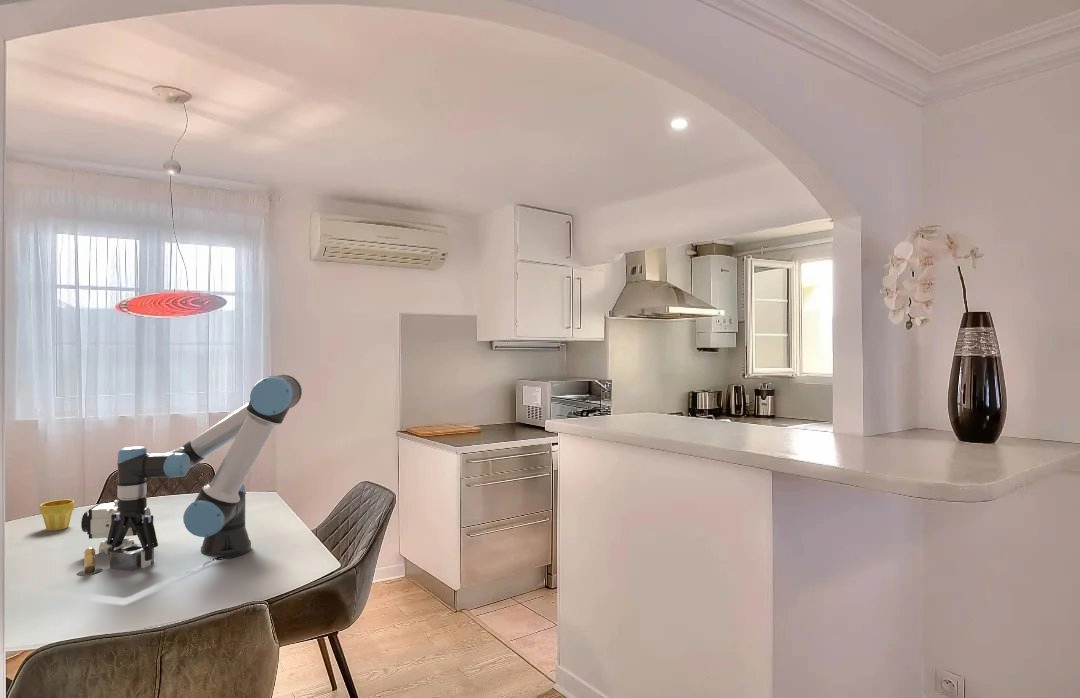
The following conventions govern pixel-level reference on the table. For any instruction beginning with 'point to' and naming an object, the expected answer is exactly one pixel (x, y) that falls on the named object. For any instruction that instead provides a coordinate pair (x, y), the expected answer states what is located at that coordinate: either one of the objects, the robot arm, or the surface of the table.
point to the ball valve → (104, 524)
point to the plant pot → (57, 514)
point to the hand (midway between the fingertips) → (132, 569)
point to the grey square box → (127, 557)
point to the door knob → (89, 563)
